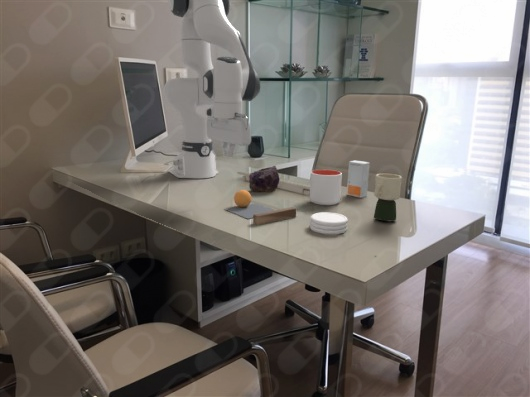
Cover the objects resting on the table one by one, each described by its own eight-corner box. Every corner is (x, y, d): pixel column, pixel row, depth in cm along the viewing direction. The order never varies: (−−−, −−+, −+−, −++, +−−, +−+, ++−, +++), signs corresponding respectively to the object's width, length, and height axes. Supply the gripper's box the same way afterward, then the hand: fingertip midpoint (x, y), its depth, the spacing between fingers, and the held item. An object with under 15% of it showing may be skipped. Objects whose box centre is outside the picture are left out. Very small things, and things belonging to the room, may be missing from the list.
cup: (322, 196, 152) (323, 168, 149) (346, 202, 145) (348, 172, 142) (303, 201, 145) (304, 172, 142) (327, 208, 138) (329, 176, 135)
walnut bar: (253, 223, 121) (253, 214, 121) (291, 215, 130) (291, 206, 129) (257, 225, 120) (257, 216, 119) (295, 216, 128) (296, 208, 127)
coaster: (322, 221, 125) (323, 209, 124) (353, 229, 119) (354, 216, 118) (302, 229, 118) (302, 217, 117) (334, 238, 111) (335, 225, 111)
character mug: (384, 213, 133) (388, 171, 129) (405, 219, 128) (410, 175, 124) (363, 220, 126) (366, 176, 122) (384, 226, 120) (388, 180, 117)
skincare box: (346, 195, 155) (348, 161, 152) (352, 193, 158) (354, 160, 155) (361, 198, 151) (363, 163, 148) (367, 196, 154) (370, 162, 151)
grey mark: (224, 209, 134) (224, 208, 134) (256, 203, 141) (256, 203, 141) (247, 219, 125) (247, 218, 125) (280, 212, 132) (280, 211, 132)
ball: (243, 195, 132) (238, 211, 134) (256, 194, 135) (252, 209, 138) (232, 187, 135) (228, 202, 137) (246, 186, 139) (242, 201, 141)
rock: (247, 193, 160) (263, 198, 152) (244, 170, 158) (260, 174, 150) (272, 184, 167) (289, 189, 159) (270, 162, 164) (286, 166, 156)
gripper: (256, 114, 130) (255, 160, 134) (219, 109, 145) (219, 151, 149) (239, 114, 126) (238, 162, 130) (202, 110, 142) (203, 152, 145)
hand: (228, 156), depth 139 cm, fingers closed
